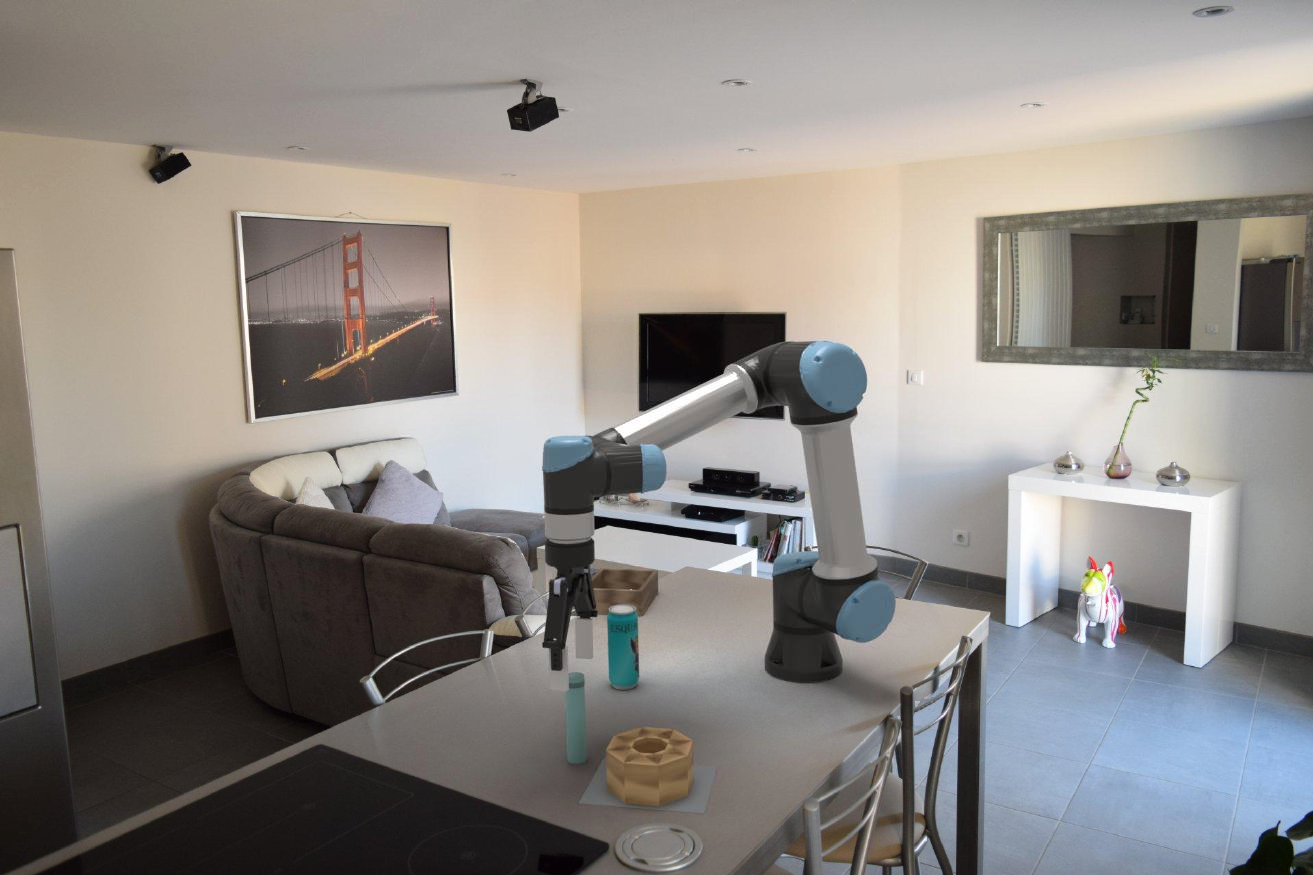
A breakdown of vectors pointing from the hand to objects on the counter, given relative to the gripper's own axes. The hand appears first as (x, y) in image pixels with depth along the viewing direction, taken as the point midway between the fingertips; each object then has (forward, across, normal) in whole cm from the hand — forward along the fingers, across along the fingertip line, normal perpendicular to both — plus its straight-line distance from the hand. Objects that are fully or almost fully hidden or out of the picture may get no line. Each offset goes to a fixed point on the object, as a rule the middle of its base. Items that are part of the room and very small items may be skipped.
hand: (572, 673), depth 144 cm
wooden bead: (+14, +6, +13) cm, 20 cm away
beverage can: (+14, -32, 0) cm, 35 cm away
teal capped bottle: (+14, 0, 0) cm, 15 cm away
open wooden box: (+14, -83, -13) cm, 85 cm away
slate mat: (+14, +6, +13) cm, 20 cm away
